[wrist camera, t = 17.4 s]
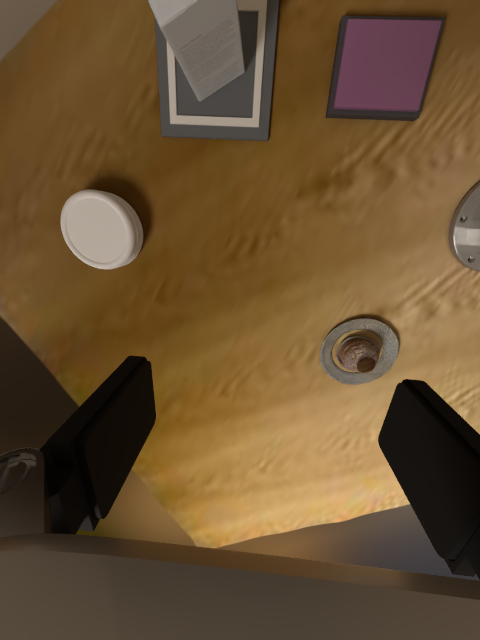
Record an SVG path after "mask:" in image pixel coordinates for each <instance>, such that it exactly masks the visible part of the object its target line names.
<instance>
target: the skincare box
mask: <svg viewBox="0 0 480 640" xmlns="http://www.w3.org/2000/svg"><path fill="white" fill-rule="evenodd" d="M148 1H149V4H150V6H151V8H152V11H153V13H154V15H155V18H156V20H157V22H158V25H159V27H160V29H161V31H162V33H163V34H164V36H165V38H166V40H167V42H168V44H169V45H170V47H171V49H172V51H173V53H174V55H175V57H176V59H177V60H178V62H179V64H180V66H181V68H182V70H183V72H184V74H185V76H186V78H187V80H188V82H189V84H190V86H191V88H192V89H193V91H194V93H195V95H196V97H197V99H198V101H199V102H201V101H202V100H204V99H205V98H207V97H208V96H210V95H211V94H213V93H214V92H216V91H217V90H219V89H220V88H222V87H223V86H225V85H226V84H228V83H229V82H231V81H232V80H234V79H235V78H237V77H238V76H240V75H242V74H243V73H244V72H245V68H244V59H243V50H242V40H241V31H240V22H239V13H238V5H237V0H148Z"/></svg>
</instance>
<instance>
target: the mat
mask: <svg viewBox="0 0 480 640" xmlns="http://www.w3.org/2000/svg"><path fill="white" fill-rule="evenodd" d="M237 5H238V13H239V22H240V31H241V40H242V50H243V59H244V68H245V72H244V73H243V74H242V75H240V76H238V77H237V78H235V79H234V80H232V81H231V82H229V83H228V84H226V85H225V86H223V87H222V88H220V89H219V90H217V91H216V92H214V93H213V94H211V95H210V96H208V97H207V98H205V99H204V100H202V101H201V102H199V101H198V99H197V97H196V95H195V93H194V91H193V89H192V88H191V86H190V84H189V82H188V80H187V78H186V76H185V74H184V72H183V70H182V68H181V66H180V64H179V62H178V60H177V59H176V57H175V55H174V53H173V51H172V49H171V47H170V45H169V44H168V42H167V40H166V38H165V36H164V34H163V33H162V31H161V29H160V27H159V25H158V22H157V20H156V18H155V25H156V43H157V61H158V79H159V97H160V115H161V133H162V136H163V137H185V138H209V139H232V140H256V141H268V132H269V119H270V107H271V94H272V82H273V69H274V57H275V44H276V31H277V19H278V6H279V0H237Z"/></svg>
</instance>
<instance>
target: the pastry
mask: <svg viewBox="0 0 480 640" xmlns="http://www.w3.org/2000/svg"><path fill="white" fill-rule="evenodd" d="M360 329H361V330H368V331H371V332H373V333H375V334H376V335H377V336H378V337H379V338H380V339H381V341H382V345H383V352H382V355H381V357H380V359H379V352H380V349H379V345H378V344H377V343H376V342H375V341H374V340H372V339H370V338H367V337H362V336H355V337H349V338H348V339H346V340H344V341H343V342H342V343H341V344H340V346H339V348H338V350H337V353H336V356H337V360H338V361H339V363H340V364H341V365H342V366H343V367H344V368H346V369H349V370H352V371H358V372H347V371H344V370H342V369H340V368H339V367H338V366H337V365H336V364H335V363H334V361H333V358H332V350H333V346H334V344H335V343H336V341H337V340H338V339H339V338H340V337H341V336H342V335H344V334H345V333H347V332H350V331H353V330H360ZM398 350H399V342H398V338H397V336H396V334H395V333H394V331H393V330H392V329H391V328H390V327H389V326H388V325H386V324H385V323H383V322H381V321H378V320H375V319H370V318H361V319H355V320H350V321H348V322H345V323H343V324H341V325H340V326H338V327H336V328H335V329H334V330H333V331H331V332H330V333H329V334H328V336H327V337H326V338H325V340H324V342H323V344H322V347H321V351H320V362H321V365H322V367H323V369H324V371H325V372H326V373H327V374H328V375H329V376H330V377H331V378H333V379H334V380H337V381H339V382H341V383H344V384H351V385H356V384H362V383H368V382H371V381H373V380H375V379H377V378H379V377H381V376H383V375H384V374H385V373H386V372H387V371H389V369H390V368H391V367H392V365H393V364H394V362H395V360H396V358H397V356H398ZM378 359H379V361H378Z"/></svg>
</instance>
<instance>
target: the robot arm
mask: <svg viewBox="0 0 480 640" xmlns="http://www.w3.org/2000/svg"><path fill="white" fill-rule="evenodd" d="M449 243H450V248H451V251H452V253H453V255H454V257H455V258H456V259H457V260H458V261H459V262H460V263H461V264H462V265H464V266H465V267H467V268H470V269H472V270H476V271H480V182H478V183H477V184H476V185H475V186H474V187H473V188H472V189H471V190H470V191H469V192H468V193H467V194H466V196H465V197H464V198H463V199H462V201H461V202H460V204H459V206H458V207H457V209H456V211H455V213H454V216H453V218H452V221H451V225H450V229H449ZM155 419H156V411H155V401H154V390H153V380H152V369H151V363H150V361H147V359H146V358H145V357H140V356H129V357H127V358H126V359H125V361H124V362H123V363H122V364H121V365H120V366H119V367H118V368H117V369H116V370H115V371H114V372H113V373H112V374H111V375H110V376H109V377H108V378H107V379H106V380H105V381H104V382H103V383H102V384H101V385H100V386H99V388H98V389H97V390H96V391H95V392H94V393H93V394H92V395H91V396H90V397H89V398H88V399H87V400H86V401H85V402H84V403H83V404H82V405H81V406H80V407H79V408H78V410H77V411H75V412H74V414H73V415H72V416H71V417H70V418H69V419H68V420H67V421H66V422H65V423H64V424H63V425H62V426H61V427H60V428H59V429H58V430H57V431H56V432H55V433H54V434H53V435H52V436H51V437H50V439H48V441H47V442H46V444H45V445H44V446H43V447H42V448H41V449H40V450H38V449H35V448H21V449H17V450H14V451H10V452H8V453H6V454H3V455H1V456H0V640H480V581H477V580H469V579H461V578H453V577H445V576H437V575H429V574H421V573H413V572H405V571H397V570H389V569H382V568H374V567H365V566H356V565H349V564H341V563H332V562H324V561H315V560H307V559H299V558H290V557H282V556H273V555H264V554H257V553H248V552H240V551H231V550H222V549H213V548H204V547H196V546H186V545H178V544H169V543H159V542H151V541H142V540H132V539H120V538H111V537H99V536H89V535H78V534H76V533H77V531H78V530H85V531H94V529H95V528H96V526H97V524H98V522H99V520H100V519H104V518H105V517H106V516H107V515H108V513H109V511H110V509H111V507H112V505H113V503H114V501H115V499H116V498H117V496H118V493H119V492H120V490H121V487H122V486H123V484H124V482H125V480H126V478H127V476H128V474H129V472H130V470H131V468H132V466H133V464H134V463H135V461H136V459H137V457H138V455H139V453H140V451H141V449H142V447H143V445H144V443H145V441H146V439H147V437H148V435H149V433H150V431H151V429H152V428H153V426H154V423H155ZM378 442H379V446H380V448H381V450H382V452H383V454H384V456H385V458H386V459H387V461H388V463H389V465H390V467H391V469H392V471H393V472H394V474H395V476H396V478H397V480H398V482H399V484H400V485H401V487H402V489H403V491H404V493H405V495H406V497H407V498H408V500H409V502H410V504H411V506H412V508H413V510H414V511H415V513H416V515H417V517H418V519H419V520H420V523H421V524H422V526H423V528H424V530H425V532H426V534H427V535H428V537H429V539H430V541H431V543H432V545H433V547H434V549H435V550H436V552H437V554H438V555H439V556H440V557H442V558H444V559H445V561H446V563H447V565H448V567H449V568H450V570H451V572H452V574H455V575H464V576H472V577H473V576H474V575H475V574H477V576H478V577H479V579H480V435H479V434H478V433H477V432H476V431H475V430H474V429H473V428H472V427H471V426H470V425H469V424H468V423H467V422H466V421H465V420H464V419H463V418H462V417H461V416H460V415H459V414H458V413H457V412H456V411H455V410H454V409H452V408H451V407H450V406H449V405H448V404H447V403H446V402H445V401H444V400H443V399H442V398H441V397H440V396H439V395H438V394H437V393H436V392H435V391H434V390H433V389H432V388H431V387H430V386H429V385H428V384H427V383H425V382H424V381H420V380H409V379H405V380H403V381H402V383H399V384H398V385H397V387H396V389H395V392H394V395H393V398H392V401H391V403H390V406H389V409H388V412H387V415H386V417H385V420H384V423H383V426H382V428H381V431H380V434H379V437H378Z"/></svg>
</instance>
